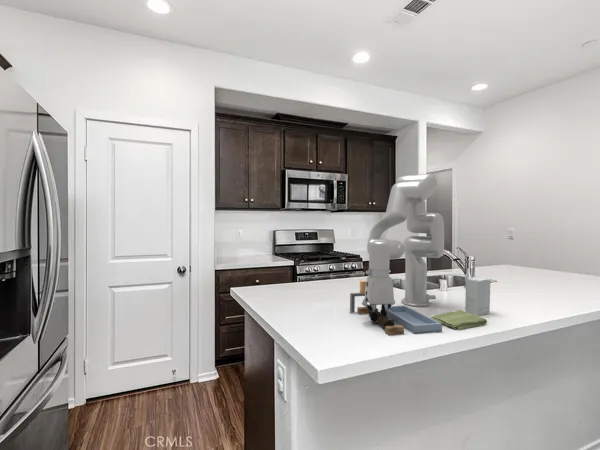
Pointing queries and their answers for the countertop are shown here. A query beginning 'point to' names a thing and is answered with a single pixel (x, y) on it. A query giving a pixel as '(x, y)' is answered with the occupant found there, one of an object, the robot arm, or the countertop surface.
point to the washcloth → (459, 319)
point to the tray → (413, 320)
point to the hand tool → (382, 319)
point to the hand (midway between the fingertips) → (378, 321)
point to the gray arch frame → (352, 295)
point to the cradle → (388, 329)
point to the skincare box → (477, 296)
